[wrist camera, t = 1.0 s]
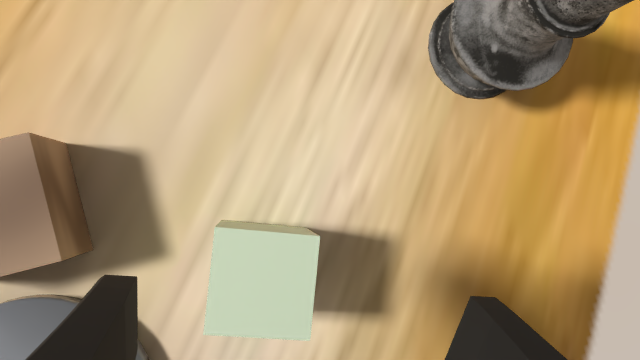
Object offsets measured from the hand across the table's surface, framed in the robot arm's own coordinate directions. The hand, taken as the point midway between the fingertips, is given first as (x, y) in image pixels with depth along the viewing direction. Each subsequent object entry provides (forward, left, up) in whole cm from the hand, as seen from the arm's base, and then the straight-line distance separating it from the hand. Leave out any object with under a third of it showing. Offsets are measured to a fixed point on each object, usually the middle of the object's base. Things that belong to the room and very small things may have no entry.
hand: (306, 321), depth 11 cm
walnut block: (+1, +11, -13) cm, 17 cm away
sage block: (-1, +1, -13) cm, 13 cm away
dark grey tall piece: (+11, -9, -13) cm, 20 cm away
